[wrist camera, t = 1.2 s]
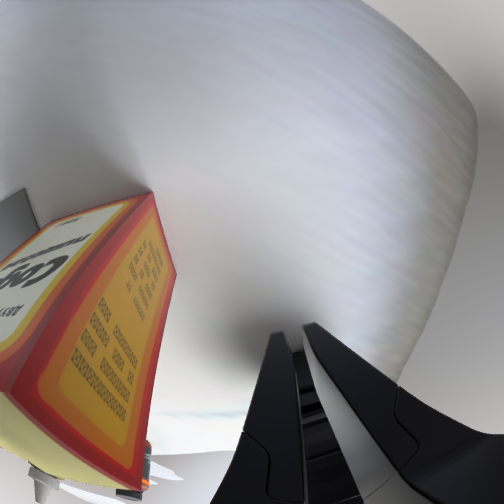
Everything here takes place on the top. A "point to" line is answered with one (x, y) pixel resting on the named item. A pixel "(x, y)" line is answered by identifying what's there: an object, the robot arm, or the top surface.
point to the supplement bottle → (137, 495)
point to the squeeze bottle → (43, 483)
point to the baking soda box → (84, 341)
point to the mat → (15, 223)
